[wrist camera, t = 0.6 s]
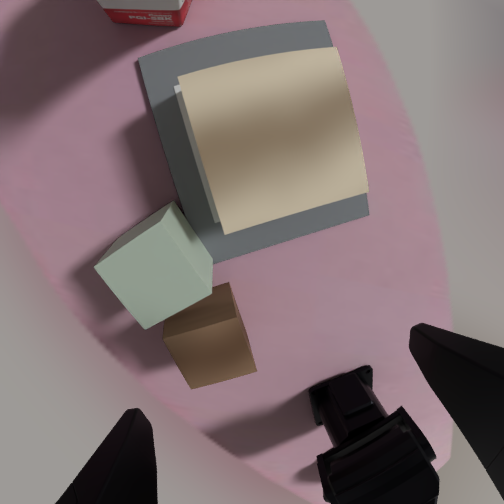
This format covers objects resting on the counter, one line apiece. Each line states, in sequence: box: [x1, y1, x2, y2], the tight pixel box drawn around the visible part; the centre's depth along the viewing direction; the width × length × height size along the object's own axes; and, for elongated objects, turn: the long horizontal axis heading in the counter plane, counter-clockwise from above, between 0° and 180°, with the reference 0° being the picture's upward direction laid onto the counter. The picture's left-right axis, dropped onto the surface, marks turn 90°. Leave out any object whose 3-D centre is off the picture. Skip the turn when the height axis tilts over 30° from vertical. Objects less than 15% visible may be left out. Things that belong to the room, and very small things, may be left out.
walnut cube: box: [162, 282, 257, 389], centre depth 20 cm, size 4×4×4 cm
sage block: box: [94, 201, 213, 330], centre depth 17 cm, size 4×4×4 cm
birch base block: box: [178, 47, 369, 235], centre depth 15 cm, size 8×8×4 cm
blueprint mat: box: [138, 20, 369, 264], centre depth 17 cm, size 14×12×1 cm
